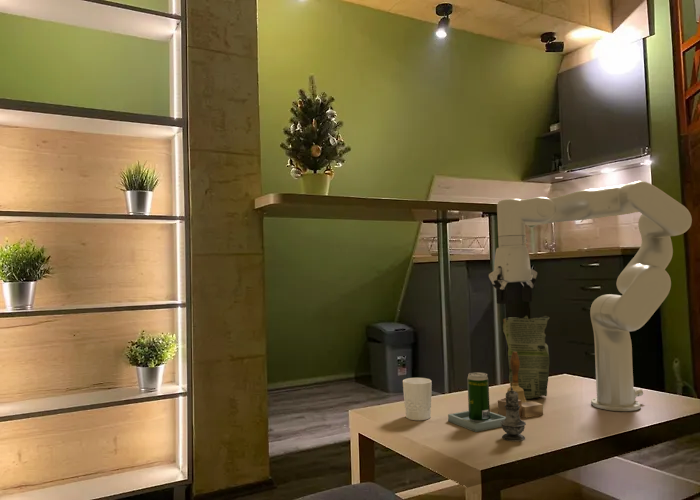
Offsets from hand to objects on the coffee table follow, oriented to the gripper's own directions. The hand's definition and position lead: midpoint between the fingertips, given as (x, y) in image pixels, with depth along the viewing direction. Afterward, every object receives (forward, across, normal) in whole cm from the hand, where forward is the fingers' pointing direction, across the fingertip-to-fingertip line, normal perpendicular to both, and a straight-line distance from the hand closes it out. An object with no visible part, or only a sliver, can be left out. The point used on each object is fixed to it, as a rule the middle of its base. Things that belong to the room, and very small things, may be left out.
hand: (514, 302), depth 154 cm
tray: (+30, +18, +4) cm, 35 cm away
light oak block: (+31, +1, +5) cm, 31 cm away
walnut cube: (+30, +7, +4) cm, 31 cm away
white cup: (+30, +28, -9) cm, 42 cm away
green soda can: (+30, +18, +4) cm, 35 cm away
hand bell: (+31, -1, -2) cm, 31 cm away
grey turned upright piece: (+30, +19, +18) cm, 40 cm away
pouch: (+31, -14, -10) cm, 35 cm away
